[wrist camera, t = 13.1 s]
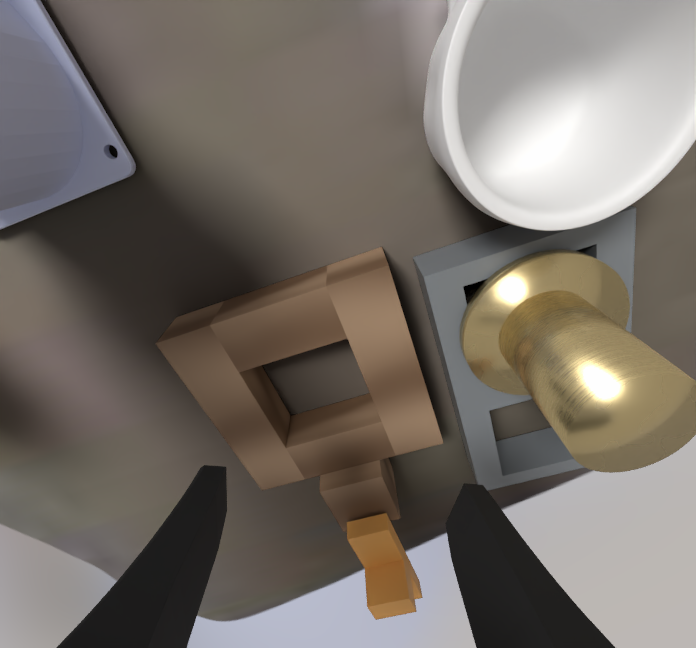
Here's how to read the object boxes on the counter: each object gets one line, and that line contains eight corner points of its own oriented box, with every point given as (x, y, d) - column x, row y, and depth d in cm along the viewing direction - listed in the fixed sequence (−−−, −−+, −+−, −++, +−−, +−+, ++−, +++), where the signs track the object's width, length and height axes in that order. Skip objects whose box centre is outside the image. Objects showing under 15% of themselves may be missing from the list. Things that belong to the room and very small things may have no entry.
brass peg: (417, 296, 19) (474, 426, 11) (540, 198, 16) (725, 273, 9) (490, 375, 21) (579, 526, 14) (605, 300, 19) (792, 429, 11)
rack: (412, 257, 18) (423, 277, 15) (596, 195, 16) (636, 207, 14) (467, 459, 25) (480, 492, 23) (598, 425, 24) (625, 457, 21)
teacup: (637, 103, 15) (777, 97, 10) (477, 235, 17) (531, 278, 13) (506, -177, 11) (632, -393, 6) (326, 41, 14) (321, 0, 9)
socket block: (176, 317, 19) (144, 357, 16) (381, 246, 17) (392, 275, 14) (293, 493, 26) (287, 545, 23) (446, 454, 24) (462, 503, 21)
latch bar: (346, 522, 21) (348, 578, 19) (386, 512, 21) (393, 568, 19) (385, 588, 25) (391, 642, 23) (419, 580, 25) (429, 635, 22)
